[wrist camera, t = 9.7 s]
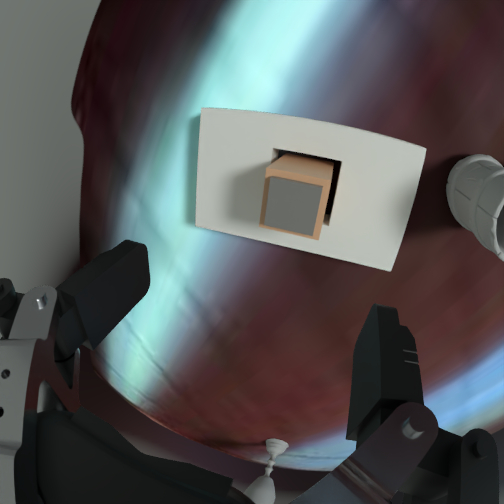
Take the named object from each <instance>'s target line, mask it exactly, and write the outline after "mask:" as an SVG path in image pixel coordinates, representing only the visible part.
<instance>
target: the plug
mask: <svg viewBox="0 0 504 504" xmlns="http://www.w3.org/2000/svg"><path fill="white" fill-rule="evenodd" d="M333 166H334V163H333V162H329V161H324V160H319V159H314V158H309V157H304V156H299V155H294V154H288V153H286V154H285V155H283V156H282V157H280V158H279V159H278V160H276V161H275V162H273V163H272V164H271V165H269V166H268V167H266V174H265V182H264V190H263V198H262V206H261V214H260V222H259V227H262V228H266V229H271V230H275V231H280V232H284V233H288V234H293V235H297V236H301V237H306V238H310V239H314V240H319V237H320V233H321V228H322V224H323V219H324V214H325V210H326V205H327V200H328V195H329V190H330V185H331V180H332V173H333Z"/></svg>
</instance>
